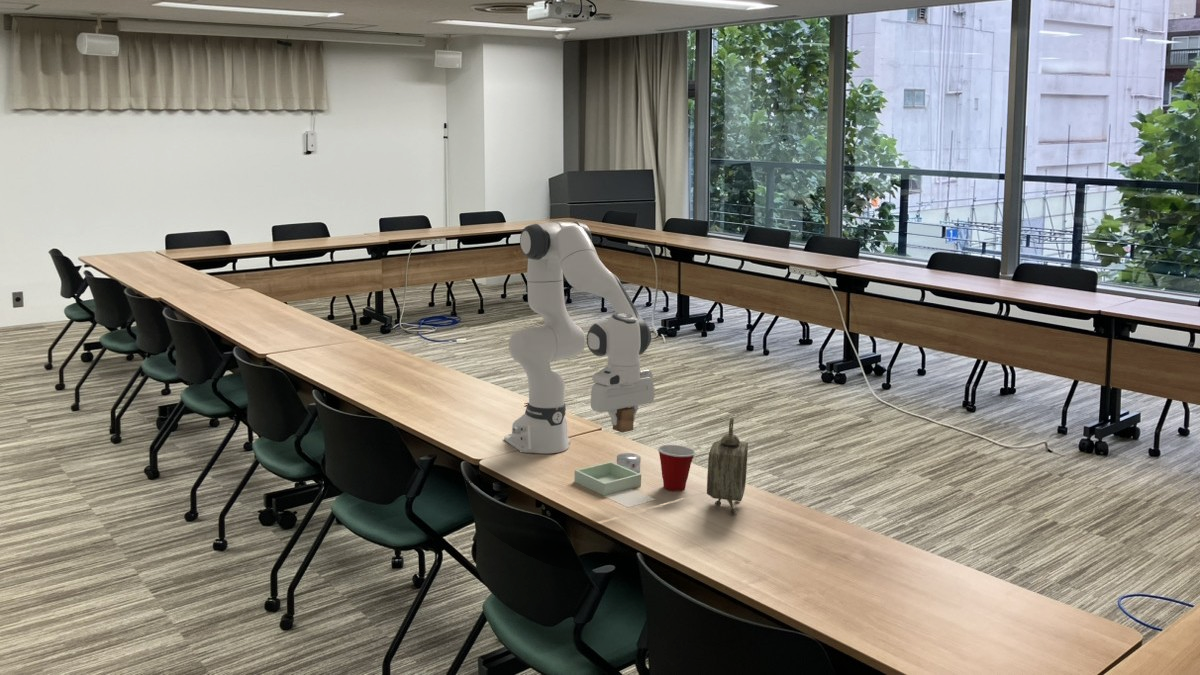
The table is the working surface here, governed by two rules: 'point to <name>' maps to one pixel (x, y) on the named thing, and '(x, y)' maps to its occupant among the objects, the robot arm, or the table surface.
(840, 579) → the table surface
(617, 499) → the coaster
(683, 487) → the plastic cup
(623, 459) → the metal tin
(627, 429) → the walnut block
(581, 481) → the crate
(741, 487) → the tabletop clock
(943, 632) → the table surface
